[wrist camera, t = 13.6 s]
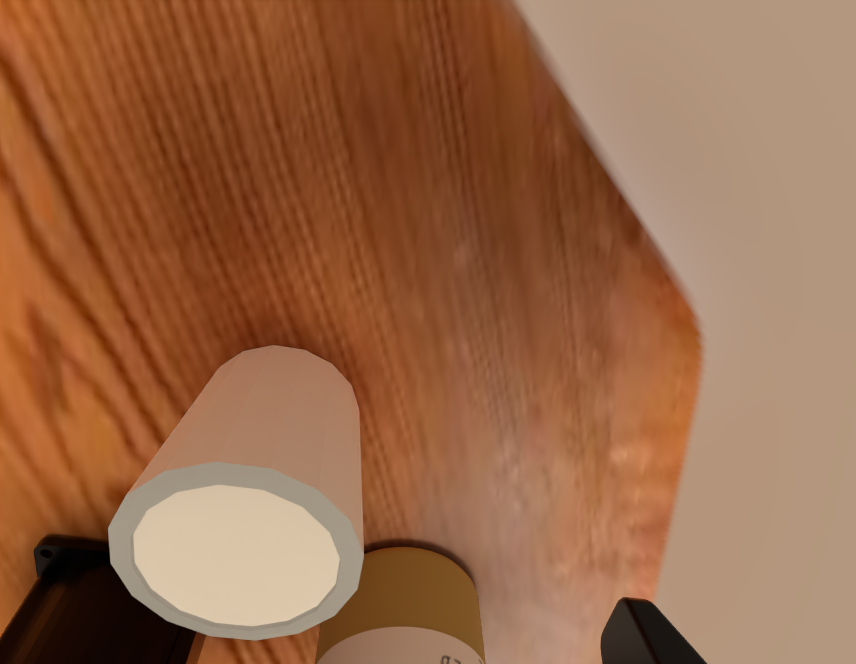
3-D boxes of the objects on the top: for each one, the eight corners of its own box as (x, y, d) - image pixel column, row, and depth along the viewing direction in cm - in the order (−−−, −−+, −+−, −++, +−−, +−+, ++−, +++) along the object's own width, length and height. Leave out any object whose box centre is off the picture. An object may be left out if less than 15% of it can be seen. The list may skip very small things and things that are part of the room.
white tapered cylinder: (380, 480, 25) (370, 641, 18) (206, 484, 24) (138, 648, 18) (371, 327, 21) (355, 461, 15) (170, 331, 21) (72, 468, 15)
